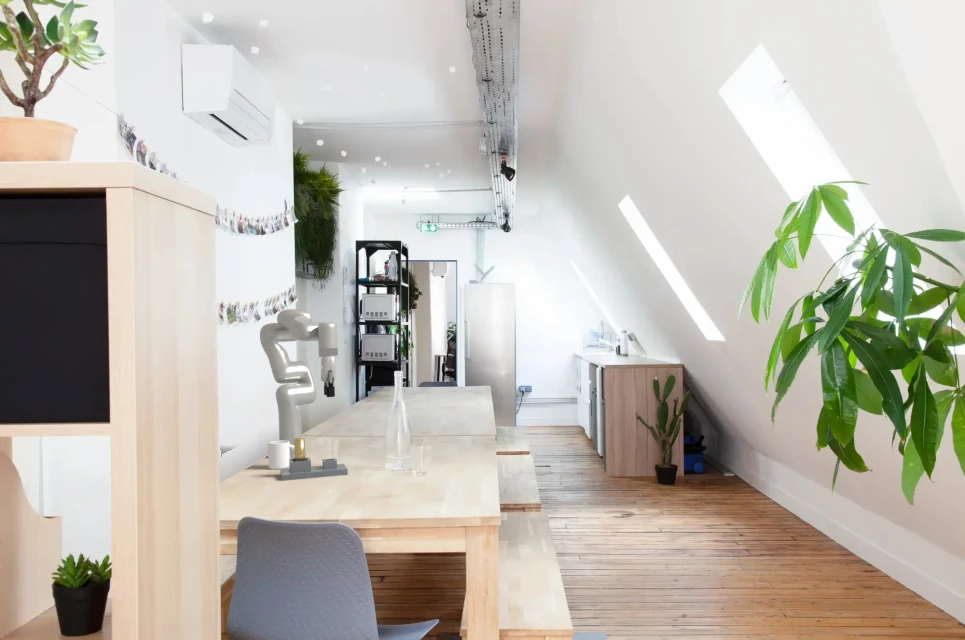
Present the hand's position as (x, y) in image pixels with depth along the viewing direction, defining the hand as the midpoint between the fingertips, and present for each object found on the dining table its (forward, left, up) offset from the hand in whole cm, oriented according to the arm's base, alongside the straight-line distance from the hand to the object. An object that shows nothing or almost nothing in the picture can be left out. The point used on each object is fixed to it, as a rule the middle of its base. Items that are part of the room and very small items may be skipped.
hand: (329, 395), depth 291 cm
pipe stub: (+13, -13, -26) cm, 32 cm away
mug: (-7, -18, -28) cm, 34 cm away
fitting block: (+13, -8, -28) cm, 32 cm away
